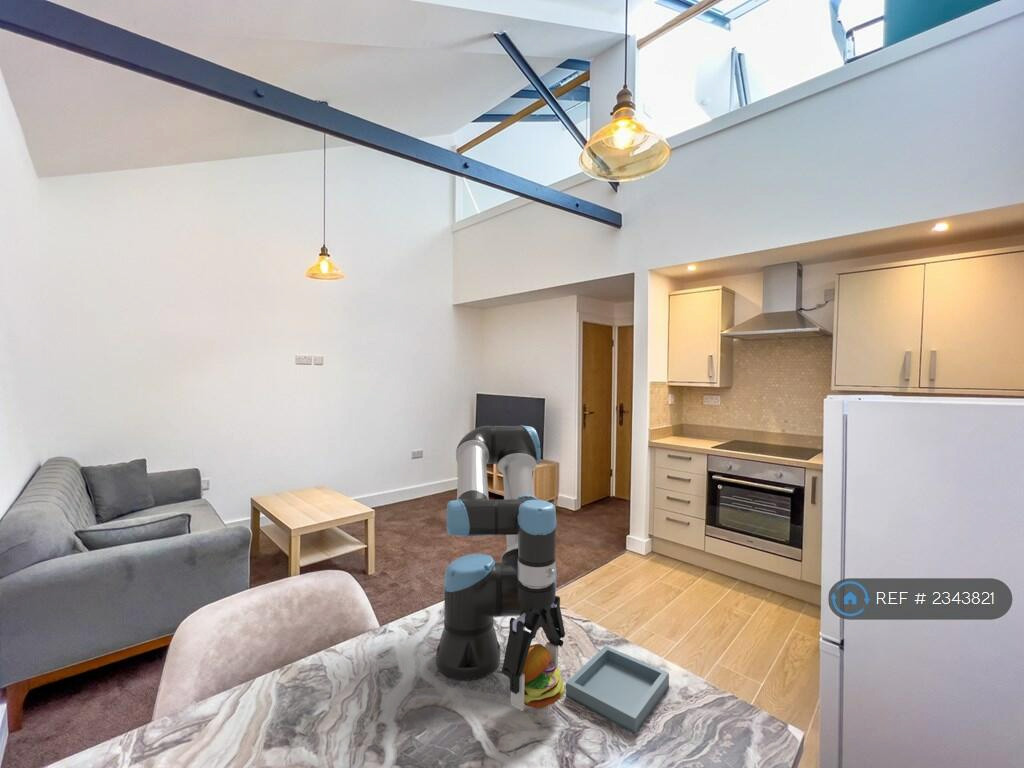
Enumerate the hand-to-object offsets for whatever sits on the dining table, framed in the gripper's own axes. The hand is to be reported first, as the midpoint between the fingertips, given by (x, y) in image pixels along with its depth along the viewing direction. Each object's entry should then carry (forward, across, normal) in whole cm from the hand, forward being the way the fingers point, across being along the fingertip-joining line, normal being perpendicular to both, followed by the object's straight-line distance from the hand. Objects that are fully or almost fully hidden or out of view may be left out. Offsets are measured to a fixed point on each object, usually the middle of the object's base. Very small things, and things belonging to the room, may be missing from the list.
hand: (535, 690), depth 87 cm
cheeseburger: (+1, 0, 0) cm, 1 cm away
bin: (+4, +16, -10) cm, 19 cm away
